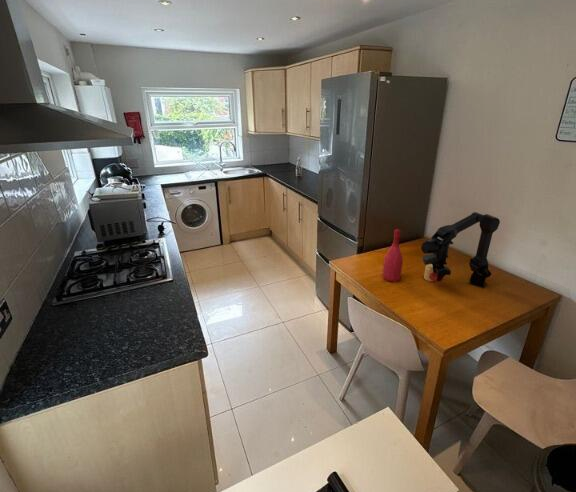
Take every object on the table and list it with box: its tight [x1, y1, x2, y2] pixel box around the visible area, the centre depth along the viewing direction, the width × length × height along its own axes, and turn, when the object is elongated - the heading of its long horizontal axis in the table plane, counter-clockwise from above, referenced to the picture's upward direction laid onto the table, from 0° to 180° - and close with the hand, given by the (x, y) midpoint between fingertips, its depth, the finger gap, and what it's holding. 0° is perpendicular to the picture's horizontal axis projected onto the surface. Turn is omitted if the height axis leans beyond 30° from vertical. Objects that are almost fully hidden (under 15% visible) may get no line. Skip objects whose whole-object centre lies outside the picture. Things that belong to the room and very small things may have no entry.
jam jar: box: [423, 264, 434, 282], centre depth 171 cm, size 6×6×9 cm
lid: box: [429, 272, 445, 283], centre depth 160 cm, size 7×7×2 cm
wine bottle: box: [382, 228, 404, 283], centre depth 167 cm, size 10×10×30 cm
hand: (436, 278), depth 161 cm, fingers closed on lid, 6 cm apart
